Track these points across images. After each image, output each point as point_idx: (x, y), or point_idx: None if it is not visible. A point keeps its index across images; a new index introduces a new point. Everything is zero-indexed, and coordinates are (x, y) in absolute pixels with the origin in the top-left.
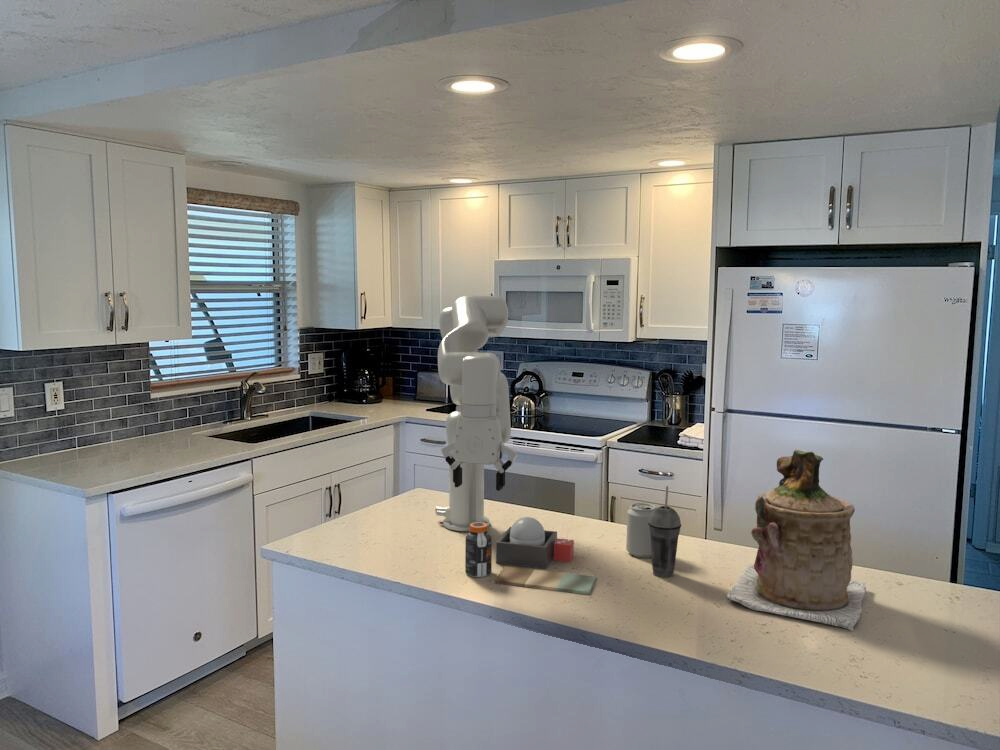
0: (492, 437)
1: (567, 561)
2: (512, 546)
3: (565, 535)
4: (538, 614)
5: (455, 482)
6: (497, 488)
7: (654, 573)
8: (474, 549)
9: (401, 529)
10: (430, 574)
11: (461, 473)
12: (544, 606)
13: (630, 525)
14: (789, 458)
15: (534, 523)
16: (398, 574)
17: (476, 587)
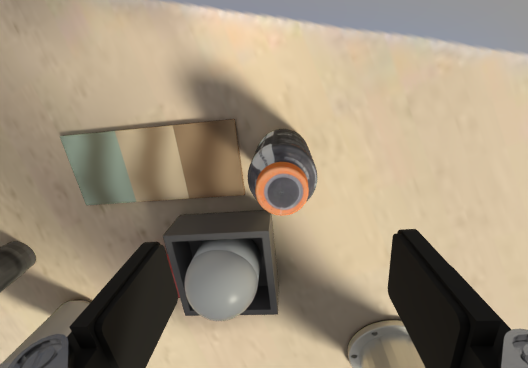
0: None
1: None
2: (233, 229)
3: (215, 346)
4: (88, 3)
5: (423, 244)
6: (148, 247)
7: (26, 248)
8: (279, 139)
9: (511, 302)
10: (374, 109)
11: (421, 344)
12: (99, 48)
13: None
14: None
15: (193, 293)
16: (446, 79)
17: (256, 82)
